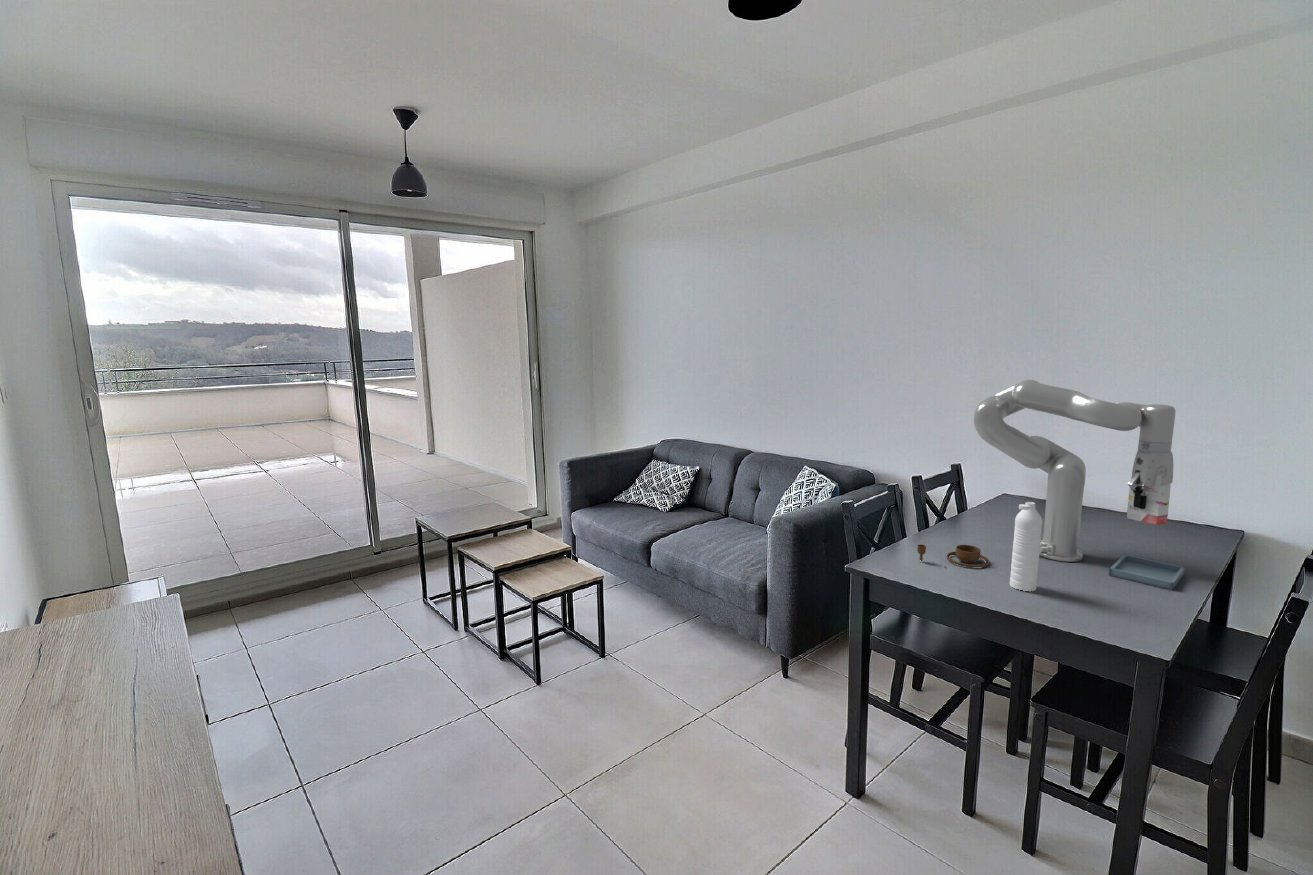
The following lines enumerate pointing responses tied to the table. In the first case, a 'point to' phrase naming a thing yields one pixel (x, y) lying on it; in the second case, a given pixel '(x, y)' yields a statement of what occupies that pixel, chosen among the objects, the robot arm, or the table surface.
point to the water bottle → (1026, 548)
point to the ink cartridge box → (1151, 504)
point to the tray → (1147, 572)
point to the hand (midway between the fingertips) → (1147, 506)
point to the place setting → (961, 555)
